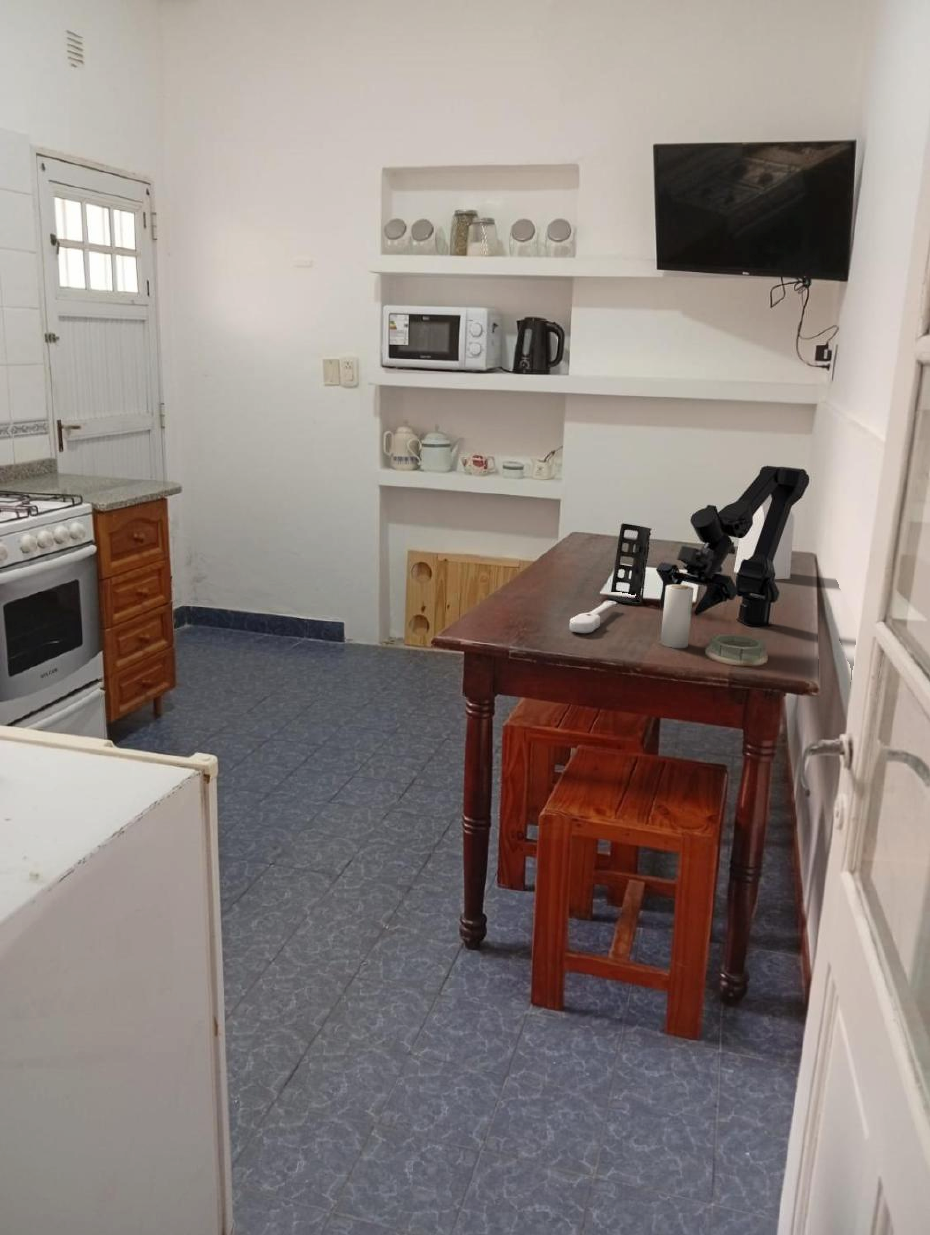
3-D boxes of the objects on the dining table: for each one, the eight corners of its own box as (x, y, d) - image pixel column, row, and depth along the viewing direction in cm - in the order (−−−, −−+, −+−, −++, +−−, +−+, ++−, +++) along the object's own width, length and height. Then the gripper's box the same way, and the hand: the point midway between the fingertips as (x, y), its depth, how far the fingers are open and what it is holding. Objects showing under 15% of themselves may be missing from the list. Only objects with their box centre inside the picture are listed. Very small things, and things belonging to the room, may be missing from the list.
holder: (600, 598, 261) (612, 522, 257) (616, 596, 266) (628, 523, 262) (636, 606, 253) (648, 529, 250) (652, 605, 259) (664, 529, 255)
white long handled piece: (600, 610, 250) (601, 599, 250) (622, 613, 248) (623, 602, 248) (564, 632, 226) (565, 620, 225) (588, 636, 223) (589, 624, 223)
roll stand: (746, 647, 221) (748, 632, 220) (779, 664, 209) (781, 648, 208) (694, 649, 218) (695, 634, 217) (724, 667, 206) (726, 651, 205)
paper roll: (679, 640, 225) (685, 583, 221) (692, 647, 219) (698, 589, 216) (655, 641, 223) (661, 584, 220) (668, 648, 218) (673, 590, 214)
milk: (766, 570, 309) (777, 487, 302) (789, 578, 298) (800, 492, 292) (733, 571, 305) (743, 487, 299) (755, 579, 295) (766, 492, 288)
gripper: (665, 526, 225) (630, 579, 221) (736, 539, 212) (701, 596, 207) (681, 557, 232) (648, 609, 228) (752, 572, 219) (718, 627, 215)
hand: (677, 609), depth 219 cm, fingers open, 9 cm apart
